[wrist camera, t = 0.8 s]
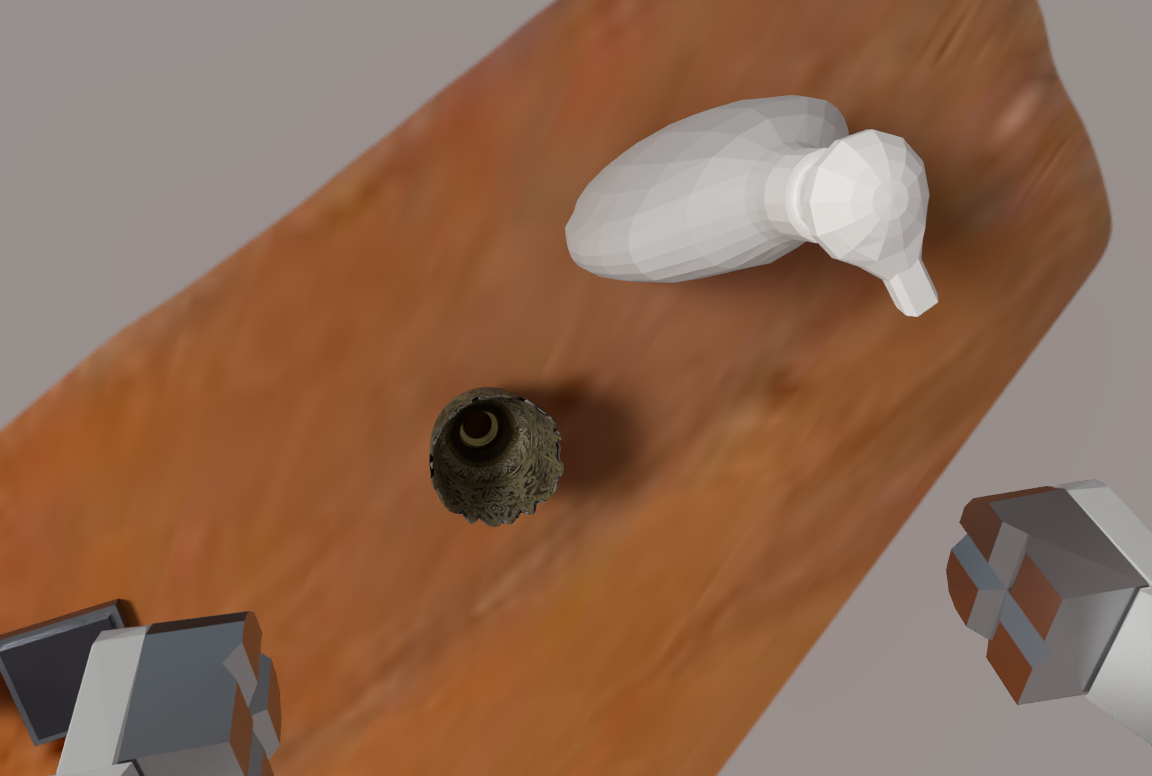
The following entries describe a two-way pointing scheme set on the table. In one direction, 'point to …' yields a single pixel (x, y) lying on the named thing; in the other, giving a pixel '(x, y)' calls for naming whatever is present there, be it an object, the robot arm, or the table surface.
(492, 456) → the cup
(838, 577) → the table surface
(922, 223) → the soap bottle
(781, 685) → the table surface
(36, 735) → the ink pad
